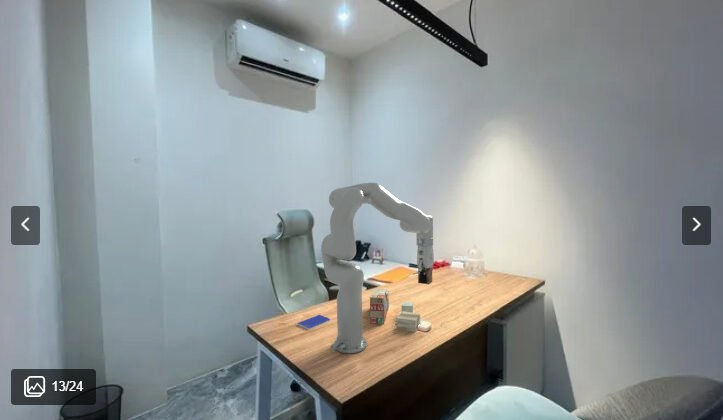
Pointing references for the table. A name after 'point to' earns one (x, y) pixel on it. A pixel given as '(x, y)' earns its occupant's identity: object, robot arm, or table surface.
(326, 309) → the table surface
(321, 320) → the hard drive
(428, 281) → the walnut block
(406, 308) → the sage block
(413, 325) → the grey stepped block
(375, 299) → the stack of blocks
